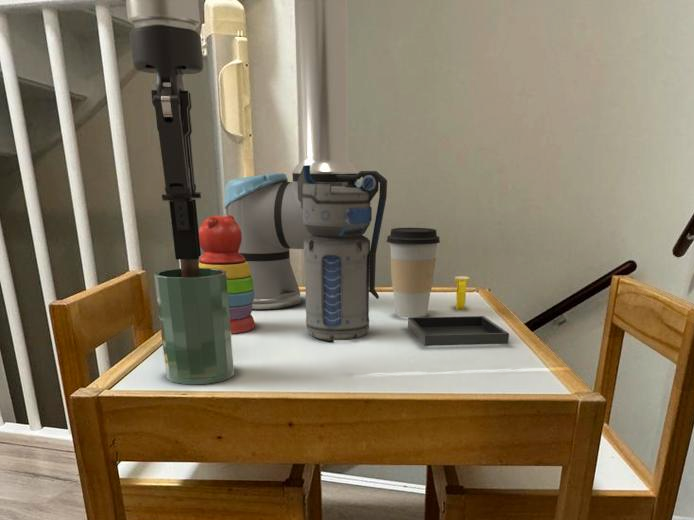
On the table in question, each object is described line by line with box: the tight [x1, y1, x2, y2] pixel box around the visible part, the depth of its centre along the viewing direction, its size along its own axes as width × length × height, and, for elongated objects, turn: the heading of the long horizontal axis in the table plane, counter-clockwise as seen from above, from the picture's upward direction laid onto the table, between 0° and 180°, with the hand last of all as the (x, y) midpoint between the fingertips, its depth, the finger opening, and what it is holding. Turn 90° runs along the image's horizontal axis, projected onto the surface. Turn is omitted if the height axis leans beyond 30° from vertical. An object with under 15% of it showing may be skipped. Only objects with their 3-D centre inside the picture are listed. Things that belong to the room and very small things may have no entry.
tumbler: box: [153, 267, 235, 385], centre depth 85 cm, size 9×9×13 cm
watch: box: [454, 275, 470, 311], centre depth 128 cm, size 6×3×6 cm, turn 176°
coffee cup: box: [386, 227, 441, 318], centre depth 119 cm, size 9×9×15 cm
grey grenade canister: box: [298, 165, 388, 342], centre depth 103 cm, size 10×13×25 cm
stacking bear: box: [198, 215, 256, 334], centre depth 109 cm, size 11×10×18 cm
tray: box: [407, 315, 510, 347], centre depth 107 cm, size 13×13×2 cm
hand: (188, 257), depth 82 cm, fingers closed on brush, 2 cm apart
